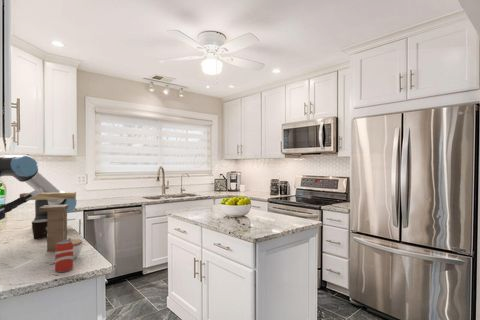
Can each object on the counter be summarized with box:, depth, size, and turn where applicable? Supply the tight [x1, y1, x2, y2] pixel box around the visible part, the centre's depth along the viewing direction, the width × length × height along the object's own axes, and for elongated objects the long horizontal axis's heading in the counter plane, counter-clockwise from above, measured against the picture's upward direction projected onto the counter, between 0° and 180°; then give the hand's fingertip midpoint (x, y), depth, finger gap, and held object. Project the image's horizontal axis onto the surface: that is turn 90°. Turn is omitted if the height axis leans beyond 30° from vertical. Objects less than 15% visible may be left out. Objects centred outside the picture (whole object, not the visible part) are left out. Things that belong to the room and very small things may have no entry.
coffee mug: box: [31, 219, 47, 240], centre depth 170 cm, size 12×9×10 cm
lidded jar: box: [56, 237, 83, 260], centre depth 133 cm, size 11×11×9 cm
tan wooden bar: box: [19, 191, 77, 201], centre depth 146 cm, size 4×24×3 cm, turn 108°
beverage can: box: [54, 239, 74, 273], centre depth 119 cm, size 6×6×12 cm
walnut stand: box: [39, 204, 69, 253], centre depth 146 cm, size 9×11×22 cm
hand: (40, 191), depth 144 cm, fingers closed on tan wooden bar, 4 cm apart
